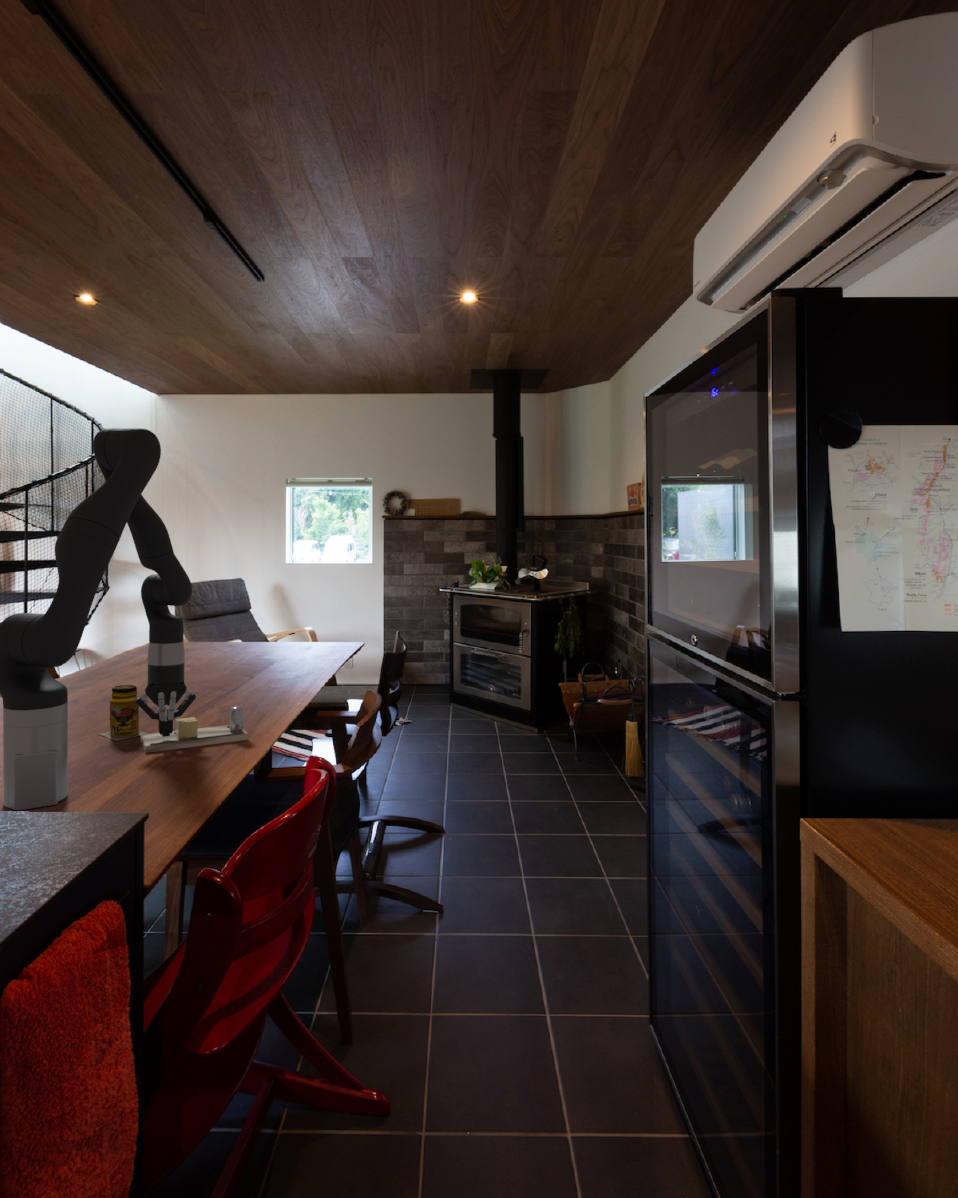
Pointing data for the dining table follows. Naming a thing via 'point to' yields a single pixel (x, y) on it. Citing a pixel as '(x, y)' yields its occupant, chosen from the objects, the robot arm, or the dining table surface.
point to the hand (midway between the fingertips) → (165, 735)
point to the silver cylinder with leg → (236, 719)
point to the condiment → (123, 713)
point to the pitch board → (203, 738)
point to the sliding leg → (186, 728)
